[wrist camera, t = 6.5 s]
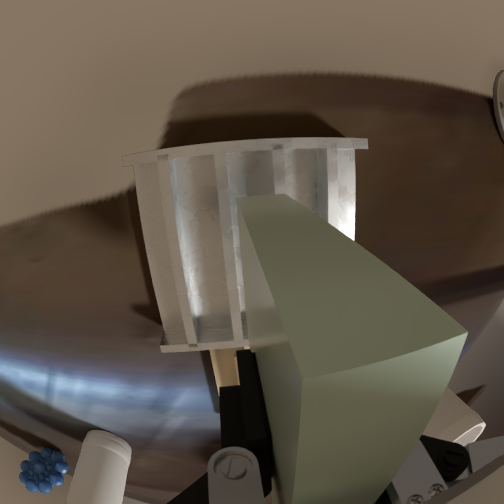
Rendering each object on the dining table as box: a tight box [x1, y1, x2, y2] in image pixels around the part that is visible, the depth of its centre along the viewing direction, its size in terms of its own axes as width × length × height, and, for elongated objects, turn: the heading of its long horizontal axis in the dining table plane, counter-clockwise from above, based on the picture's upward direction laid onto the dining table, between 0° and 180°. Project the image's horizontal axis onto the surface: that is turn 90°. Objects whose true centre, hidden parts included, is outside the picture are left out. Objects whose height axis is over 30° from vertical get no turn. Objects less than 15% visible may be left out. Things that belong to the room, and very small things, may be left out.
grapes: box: [19, 448, 69, 494], centre depth 31 cm, size 12×7×12 cm, turn 95°
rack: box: [122, 137, 368, 353], centre depth 24 cm, size 18×17×4 cm
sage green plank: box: [236, 194, 468, 504], centre depth 9 cm, size 2×12×10 cm, turn 4°
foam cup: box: [422, 387, 486, 446], centre depth 31 cm, size 10×9×13 cm
